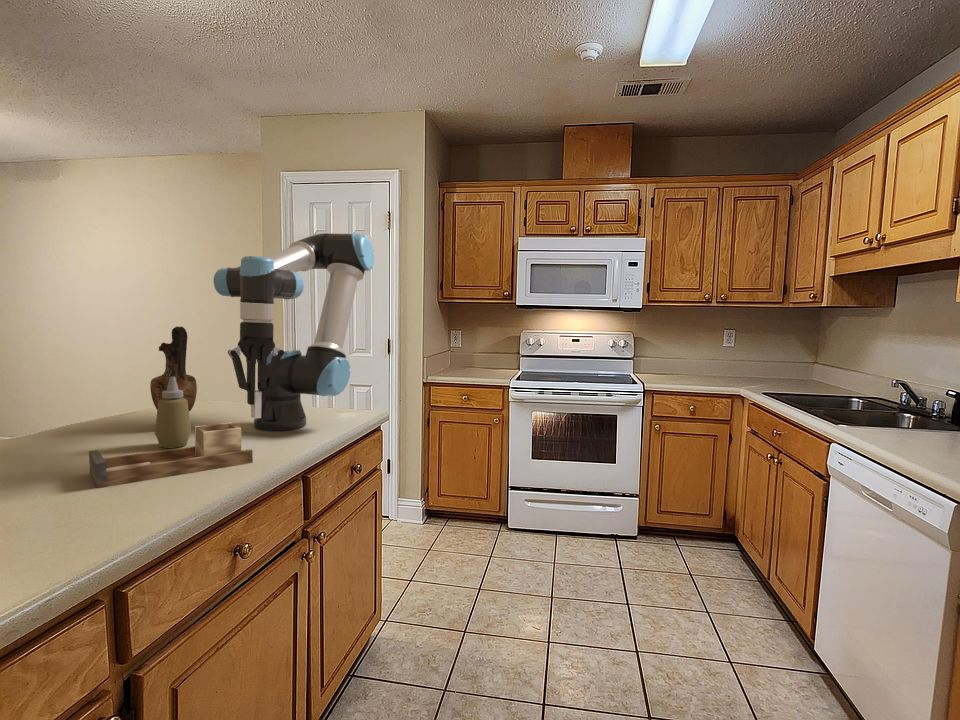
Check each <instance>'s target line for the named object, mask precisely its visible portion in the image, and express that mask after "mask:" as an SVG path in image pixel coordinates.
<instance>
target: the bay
mask: <svg viewBox="0 0 960 720" xmlns="http://www.w3.org/2000/svg"><path fill="white" fill-rule="evenodd" d="M253 452H254V451H253V449H251V448H250V449H249V448H248V449H244V450H242V449H241V451H235V452H229V453H222V454H215V455H208V456H201V457H197V456H196V455H195V445H194V446H185V447H178V448H169V449H163V450H157V451H156V450H155V451H149V452H141V453H136V454H135V453H133V454H126V455H118V456H111V457H103V455H102V453H101V452H100V450H99V449H95V450H94V449H93V450H88V458H89V459H88V460H89V462H88V463H89V465H88V466H89V476H90V478H91V479H92V482H93V483H94V485H95V487H96V489H99V488H100V489H101V488H106V487H113V486H119V485H125V484H132V483H137V482H143V481H148V480H155V479H156V480H157V479H161V478H162V479H163V478H166V477H175V476H179V475H186V474H191V473H196V472H197V473H198V472H203V471H209V470H216V469H222V468H223V469H224V468H228V467H234V466H235V467H236V466H240V465H248V464H252V463H254V458H253V456H254V455H253Z"/></svg>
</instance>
